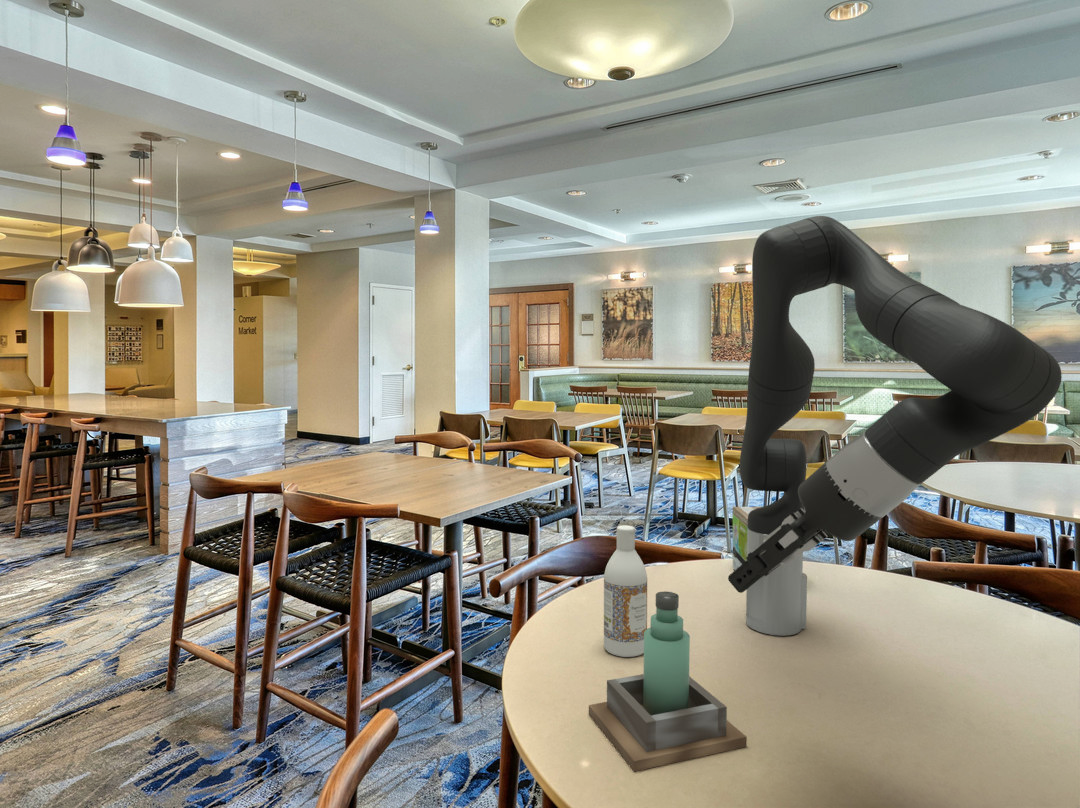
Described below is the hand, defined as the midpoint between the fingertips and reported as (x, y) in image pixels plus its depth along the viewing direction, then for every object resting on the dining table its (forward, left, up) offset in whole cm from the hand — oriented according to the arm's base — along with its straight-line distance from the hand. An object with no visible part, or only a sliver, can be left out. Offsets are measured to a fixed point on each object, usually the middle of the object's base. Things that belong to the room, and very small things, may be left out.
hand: (749, 574), depth 74 cm
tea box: (-44, -53, -22) cm, 73 cm away
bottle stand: (+6, -8, -22) cm, 24 cm away
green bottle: (+6, -8, -20) cm, 23 cm away
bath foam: (0, -31, -22) cm, 38 cm away
